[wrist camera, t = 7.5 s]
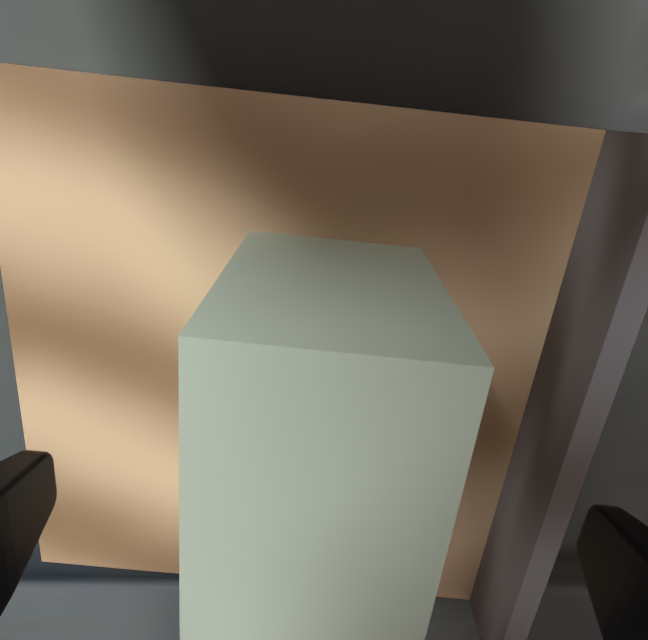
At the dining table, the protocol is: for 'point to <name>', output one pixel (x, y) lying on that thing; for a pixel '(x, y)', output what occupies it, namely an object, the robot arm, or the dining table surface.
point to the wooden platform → (324, 222)
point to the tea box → (322, 441)
